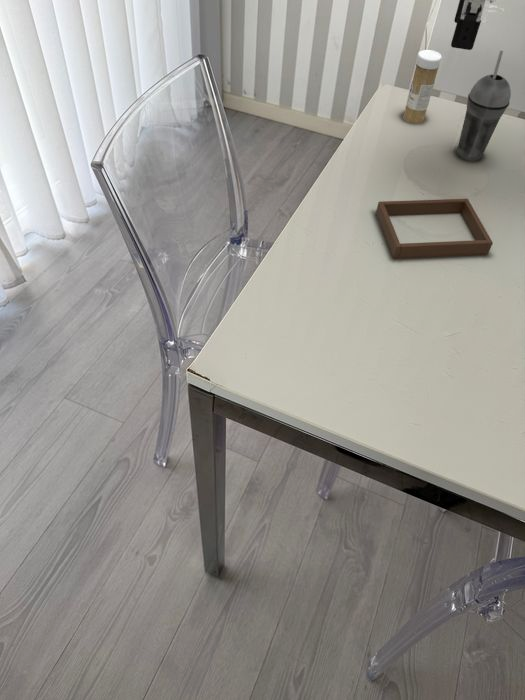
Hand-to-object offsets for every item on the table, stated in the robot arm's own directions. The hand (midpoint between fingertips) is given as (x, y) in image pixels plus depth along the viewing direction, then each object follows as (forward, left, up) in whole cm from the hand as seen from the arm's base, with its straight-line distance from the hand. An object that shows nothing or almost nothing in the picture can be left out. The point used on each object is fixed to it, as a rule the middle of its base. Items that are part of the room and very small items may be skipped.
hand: (462, 35), depth 88 cm
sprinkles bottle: (-3, -18, -24) cm, 30 cm away
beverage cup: (-10, -4, -24) cm, 26 cm away
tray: (+5, +19, -24) cm, 31 cm away
